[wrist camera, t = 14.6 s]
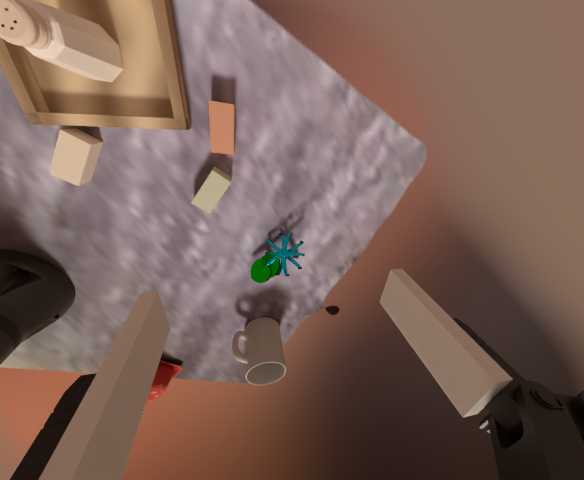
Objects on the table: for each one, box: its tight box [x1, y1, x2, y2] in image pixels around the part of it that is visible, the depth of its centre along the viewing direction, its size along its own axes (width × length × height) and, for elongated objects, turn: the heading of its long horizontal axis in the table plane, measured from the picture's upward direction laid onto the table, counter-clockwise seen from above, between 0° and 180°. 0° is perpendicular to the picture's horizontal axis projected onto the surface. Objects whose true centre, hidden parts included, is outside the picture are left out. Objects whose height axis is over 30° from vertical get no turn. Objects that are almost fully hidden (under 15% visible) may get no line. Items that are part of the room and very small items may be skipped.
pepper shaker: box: [0, 0, 123, 82], centre depth 19 cm, size 5×5×11 cm
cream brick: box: [49, 128, 103, 186], centre depth 28 cm, size 6×3×3 cm, turn 145°
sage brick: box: [191, 166, 232, 213], centre depth 34 cm, size 6×3×3 cm, turn 140°
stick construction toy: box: [251, 232, 305, 283], centre depth 42 cm, size 12×7×8 cm
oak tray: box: [0, 0, 191, 130], centre depth 24 cm, size 16×14×3 cm
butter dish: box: [146, 360, 182, 403], centre depth 50 cm, size 12×12×8 cm
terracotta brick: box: [209, 101, 235, 155], centre depth 30 cm, size 6×3×3 cm, turn 172°
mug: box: [232, 317, 286, 385], centre depth 48 cm, size 12×8×11 cm
